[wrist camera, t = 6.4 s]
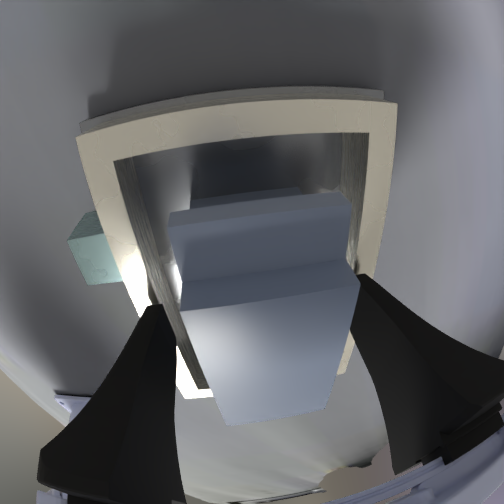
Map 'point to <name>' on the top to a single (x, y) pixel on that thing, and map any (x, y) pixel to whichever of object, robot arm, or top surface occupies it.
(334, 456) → the top surface
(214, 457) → the top surface
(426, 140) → the top surface
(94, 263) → the frame
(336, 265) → the block
